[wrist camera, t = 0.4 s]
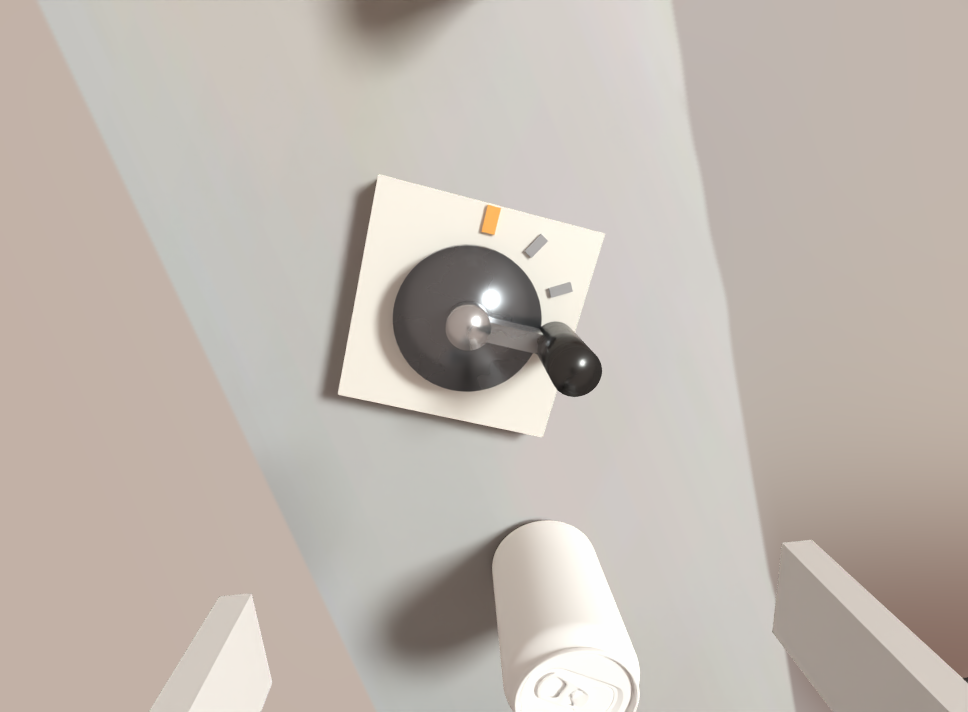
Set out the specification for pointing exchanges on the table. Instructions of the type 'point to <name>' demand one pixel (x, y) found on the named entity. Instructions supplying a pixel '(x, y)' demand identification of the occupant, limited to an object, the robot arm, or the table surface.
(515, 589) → the beverage can
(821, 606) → the robot arm
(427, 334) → the dial
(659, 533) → the table surface
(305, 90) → the table surface
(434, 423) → the table surface
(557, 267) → the dial board
